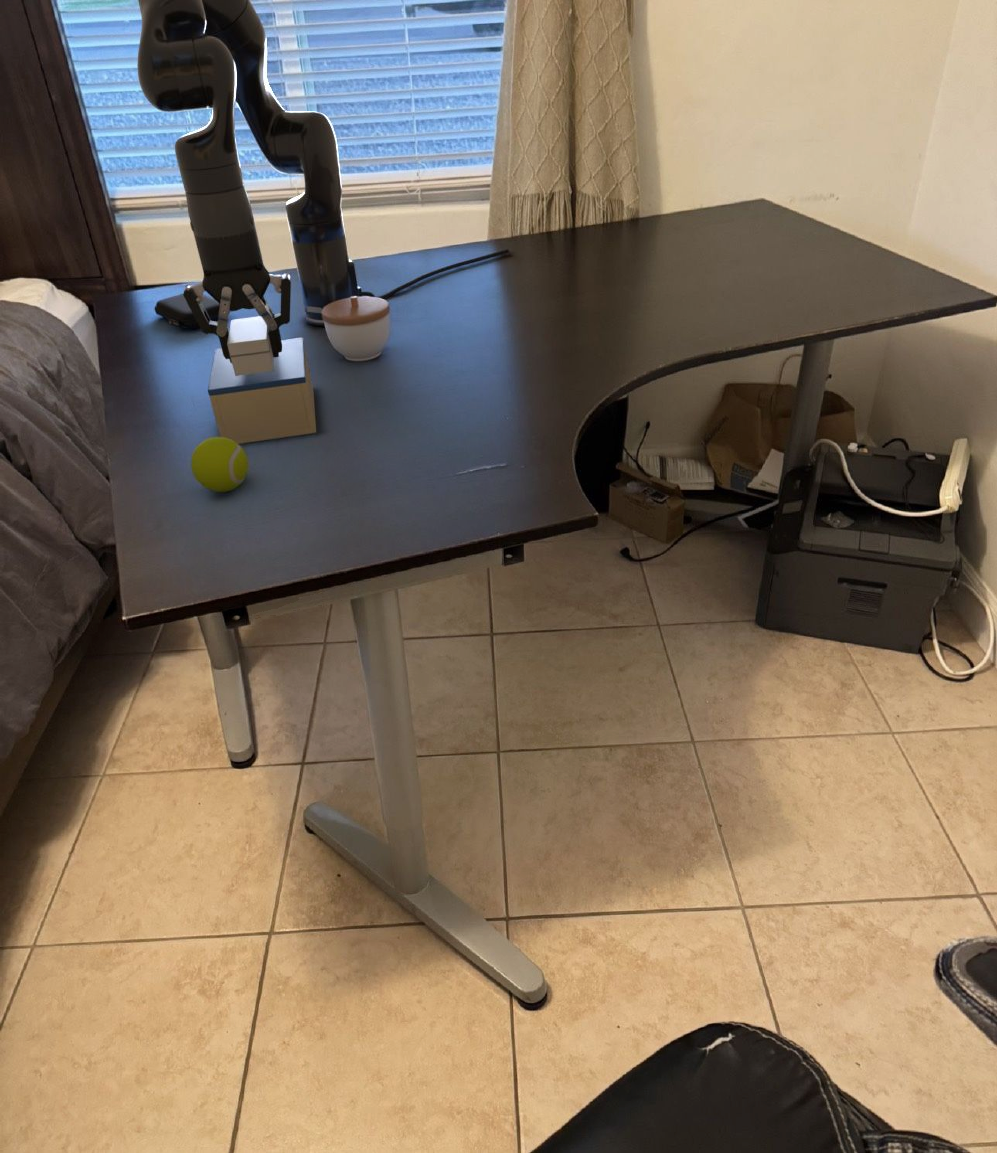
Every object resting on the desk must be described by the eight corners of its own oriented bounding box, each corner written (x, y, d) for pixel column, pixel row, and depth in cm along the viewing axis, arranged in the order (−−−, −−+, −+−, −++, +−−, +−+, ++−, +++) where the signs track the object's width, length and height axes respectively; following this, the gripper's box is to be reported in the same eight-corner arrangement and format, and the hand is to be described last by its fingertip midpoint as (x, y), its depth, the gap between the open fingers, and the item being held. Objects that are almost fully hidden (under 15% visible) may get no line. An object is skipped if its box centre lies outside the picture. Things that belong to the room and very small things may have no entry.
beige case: (238, 350, 121) (230, 319, 118) (275, 345, 122) (268, 314, 119) (234, 376, 113) (226, 344, 111) (274, 371, 114) (266, 338, 111)
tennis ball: (217, 472, 111) (204, 425, 107) (263, 477, 109) (251, 429, 105) (188, 499, 106) (173, 450, 102) (236, 504, 104) (222, 455, 100)
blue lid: (216, 353, 125) (208, 322, 123) (304, 342, 127) (297, 310, 124) (208, 395, 113) (199, 361, 110) (306, 382, 115) (299, 348, 112)
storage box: (228, 402, 129) (216, 355, 125) (313, 391, 131) (304, 344, 126) (222, 446, 117) (209, 396, 113) (316, 432, 119) (306, 383, 115)
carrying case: (147, 318, 163) (182, 335, 154) (142, 302, 162) (177, 319, 152) (199, 302, 169) (236, 319, 160) (195, 287, 167) (232, 302, 158)
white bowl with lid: (342, 372, 136) (331, 313, 130) (321, 351, 144) (310, 295, 138) (405, 356, 139) (397, 298, 134) (381, 337, 147) (373, 281, 142)
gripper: (282, 213, 111) (307, 341, 121) (168, 226, 109) (203, 355, 119) (282, 227, 105) (308, 361, 115) (161, 241, 103) (198, 375, 113)
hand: (254, 357), depth 117 cm, fingers closed on beige case, 5 cm apart
